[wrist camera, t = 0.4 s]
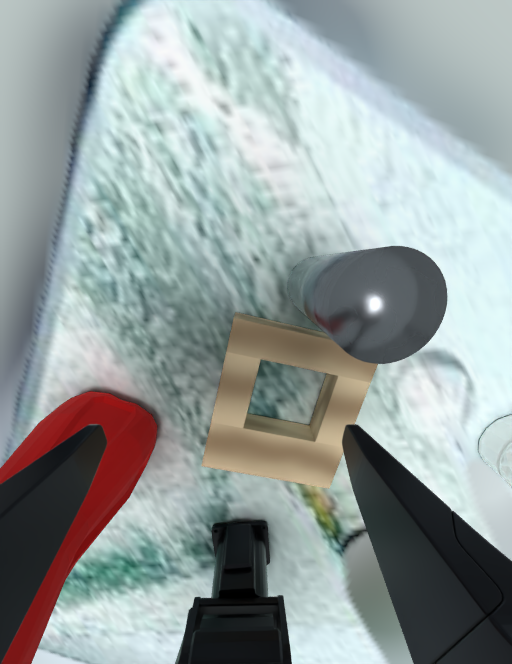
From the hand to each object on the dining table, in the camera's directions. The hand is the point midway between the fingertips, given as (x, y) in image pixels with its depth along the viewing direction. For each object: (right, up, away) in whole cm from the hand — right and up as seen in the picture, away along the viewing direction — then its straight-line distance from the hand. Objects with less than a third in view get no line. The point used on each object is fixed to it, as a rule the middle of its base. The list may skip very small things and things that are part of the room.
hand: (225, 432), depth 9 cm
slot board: (+4, -2, +15) cm, 16 cm away
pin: (+6, +8, +13) cm, 16 cm away
